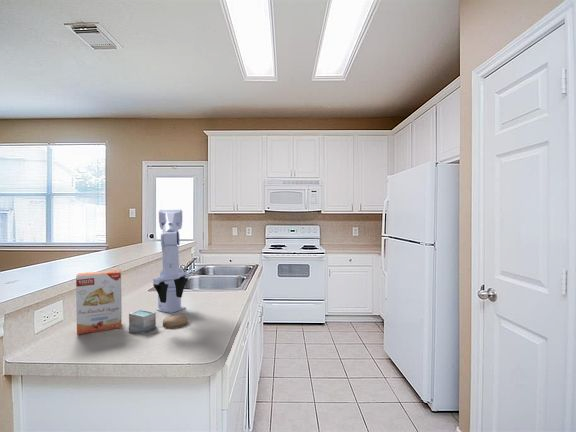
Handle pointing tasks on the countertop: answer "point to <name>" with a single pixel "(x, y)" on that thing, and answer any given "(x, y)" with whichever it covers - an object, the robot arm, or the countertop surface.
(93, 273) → the cracker box
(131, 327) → the grey stand
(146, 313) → the cover plate
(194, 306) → the countertop surface
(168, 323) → the walnut stand
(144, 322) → the white and teal box
